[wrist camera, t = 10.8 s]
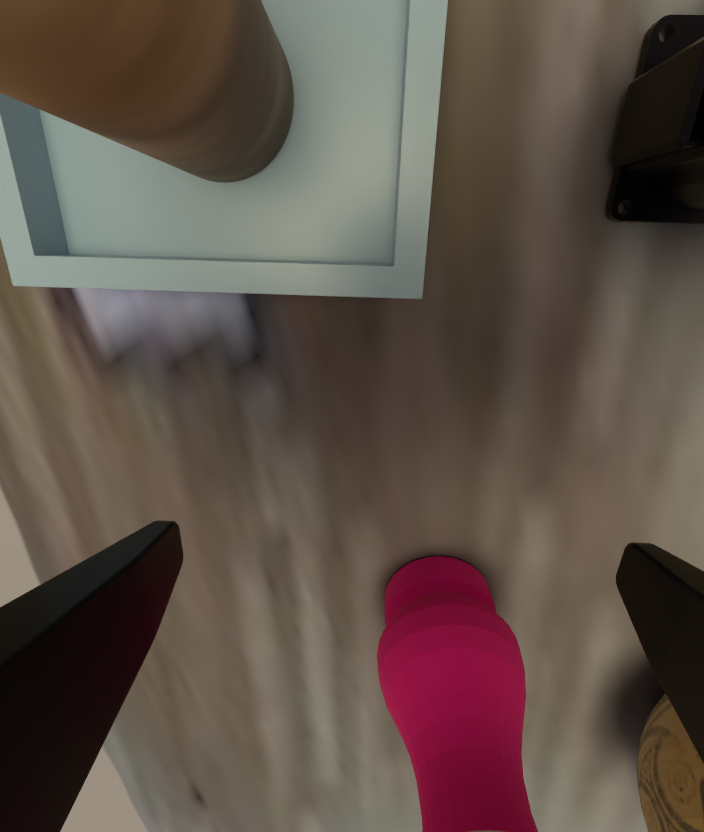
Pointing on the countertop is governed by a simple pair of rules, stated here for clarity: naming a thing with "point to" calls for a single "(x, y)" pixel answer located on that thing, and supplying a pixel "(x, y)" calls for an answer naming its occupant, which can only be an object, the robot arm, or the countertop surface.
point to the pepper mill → (456, 697)
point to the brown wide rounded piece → (669, 774)
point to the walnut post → (156, 77)
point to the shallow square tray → (257, 195)
